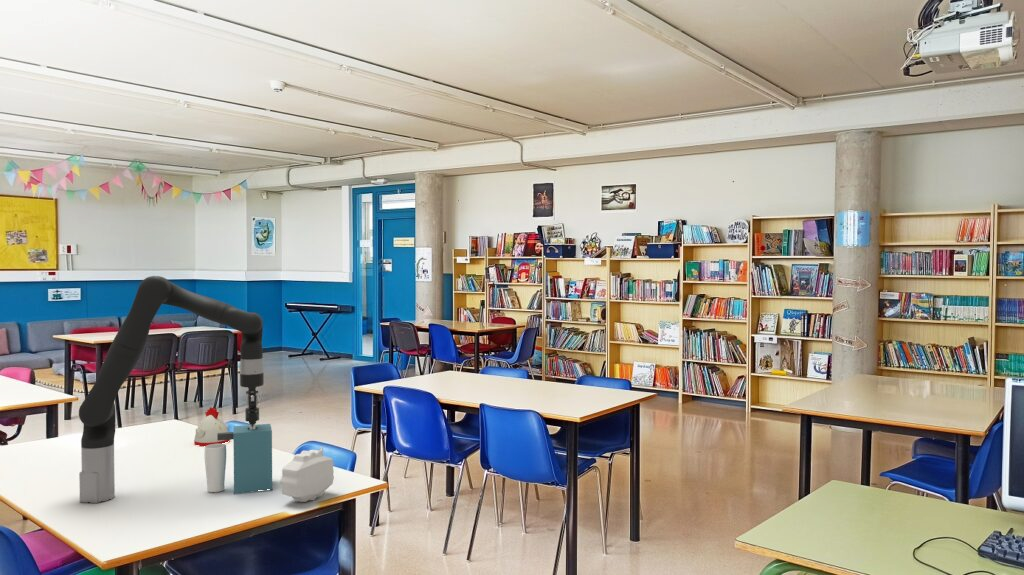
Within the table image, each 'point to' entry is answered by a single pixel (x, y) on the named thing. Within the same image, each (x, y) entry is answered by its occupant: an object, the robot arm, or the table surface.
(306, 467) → the white stepped block
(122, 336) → the robot arm
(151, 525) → the table surface
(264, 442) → the dispenser
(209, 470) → the drinking glass
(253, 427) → the plunger
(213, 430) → the kitchen timer
